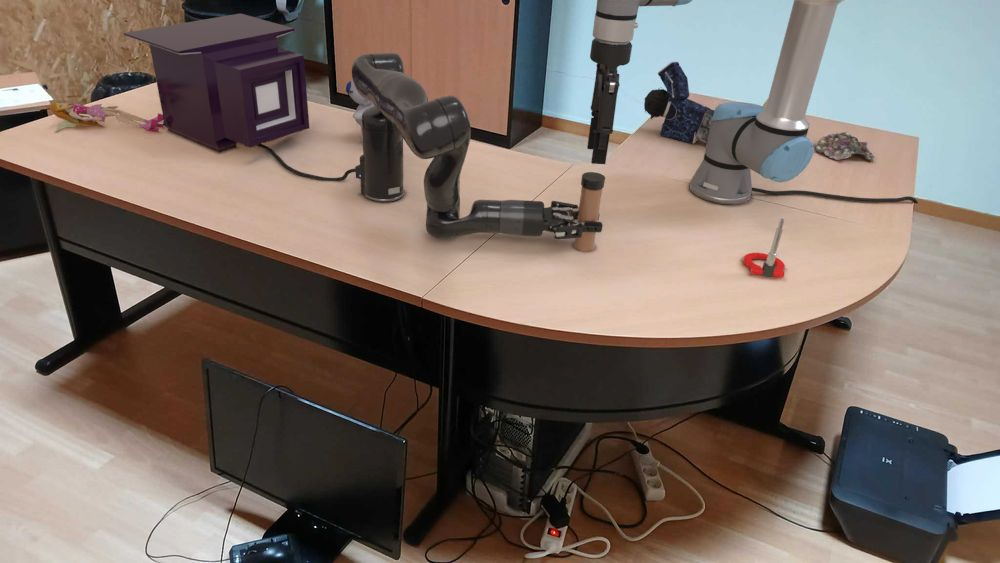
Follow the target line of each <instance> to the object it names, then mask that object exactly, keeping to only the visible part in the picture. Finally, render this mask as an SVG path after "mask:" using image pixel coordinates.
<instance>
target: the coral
mask: <svg viewBox="0 0 1000 563" xmlns="http://www.w3.org/2000/svg"><path fill="white" fill-rule="evenodd" d="M815 150H816V151H817V152H818V153H824V155H825V156H827V157H828V158H830V159H832V160H835V161H839V160H840V161H841V160H844V159H848V158H851V157H852V155H853V154H854V155H857V154H859V155H860V156H861V158H863V159H865V160H866V161H871V162H874V160H875V159H874V158H875V155H874V154H873V153H872V152H871V151H870V149H869V147H868V142H867V141H859V139H858V137H855V136H853V135H852V134H851V133H849V132H848V131H846V132H844V131H843V132H836V133H830V134H827V135H826V136H822V137H820V138H819V140H818V141H817V142H816V144H815ZM873 157H874V158H873Z"/></svg>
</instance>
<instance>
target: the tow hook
mask: <svg viewBox="0 0 1000 563" xmlns="http://www.w3.org/2000/svg"><path fill="white" fill-rule="evenodd" d="M784 223H785V219H784V218H780V219H779V222H778V226H777V228H776V229H775V232H774V236H773V240H772V243H771V247H770V250H769V251H768V253H763V252H750V253H747V254H745V255H744V256H743V259H742V260H743V263H744V266H746V267H748V268H749V269H750V274H751V275H752V274H753V275H759V276H762V277H763V276H764V277H770V278H771V277H774V278H782V279H783V278H784V277H785V271H784V270H785V267H786V264H785V263H784V262H783V261H782V260H781V259H780V258H778V257H777V255H778V254H777V251H778V248H779V244H780V240H781V238H782V234H783V231H784V229H783V227H784ZM756 259H760V260H765V262H763V264H762V266H761V265H759V264H757V263H755V262H753V260H756Z"/></svg>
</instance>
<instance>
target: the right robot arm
mask: <svg viewBox="0 0 1000 563" xmlns="http://www.w3.org/2000/svg"><path fill="white" fill-rule="evenodd" d="M692 1H693V0H596V7H595V8H596V9H595V13H594V21H593V26H592V28H593V29H592V37H593V39H591V45H590V54H589V58H590V60H591V61H592V62H593V63H595V64H596V71H595V78H594V86H593V92H592V97H591V98H592V99H591V105H590V111H591V113H590V115H591V117H590V125H589V130H588V131H589V132H588V137H587V138H588V139H587V148H586V149H587V150H592V152H591V153H592V155H591V160H590V161H591V162H590V163H591V164H593V165H606V162H607V156H608V149H609V142H610V136H611V135H612V134H613V132H614V121H615V115H616V114H615V113H616V109H617V108H616V106H617V101H618V100H617V99H618V92H619V88H620V85H621V84H620V73H618V68H619V67H620V66H621V67H622V66H626V65H628V64H629V63H630V61H631V56H632V49H633V44H632V42H631V41H633V40H634V35H635V29H638V28H639V23H638V22H636V21H637V17H638V13H639V7H668V6H671V7H677V6H682V5H688V4H689V3H691V2H692ZM844 1H845V0H793V3H792V7H791V12H790V15H789V19H788V22H787V25H786V29H785V33H784V37H783V41H782V44H781V49H780V52H779V56H778V61H777V64H776V68H775V71H774V75H773V80H772V83H771V87H770V90H769V94H768V98H767V99H768V101H767V105H766V109H765V108H764V107H762V106H763V105H760V104H757V103H751V102H743V101H742V102H741V101H740V102H739V101H731V102H722V103H720V104H718V105H716V107H715V109H714V115H713V118H712V119H711V125H710V130H709V135H708V140H707V142H706V145H705V150H704V154H703V159H702V161H701V163H700V165H699V166H698V168H697V169H696V171H695V173H694V174H693V176H692V179H691V180H690V184H689V189H690V191H691V193H693V194H694V196H696V197H698V198H700V199H702V200H704V201H707V202H710V203H713V204H717V205H726V206H727V205H729V206H734V205H742V204H745V203H747V202H749V201H750V199H751V197H752V193H753V192H754V193H760V194H765V195H771V196H774V195H775V196H782V195H783V196H785V195H804V196H805V195H806V196H814V197H821V198H827V199H834V200H835V199H836V200H842V201H843V200H844V201H852V202H861V203H862V202H863V203H898V202H904V201H911V202H912V203H913V204H916V205H917V204H919V202H918V200H917V199H916V198H915V197H913V196H902V197H887V198H886V197H885V198H883V197H882V198H881V197H879V198H874V197H872V198H870V197H859V196H858V197H857V196H849V195H839V194H830V193H823V192H818V191H809V190H797V189H793V190H791V189H790V190H768V189H762V188H757V187H753V186H752V174H751V171H753V172H755V173H757V174H758V175H760V176H761V177H762V178H763V179H768V180H770V181H772V182H774V183H787V182H789V181H791V180H794V179H795V178H797V177H798V176H799V175H800V174H801V173H802V172H804V171H805V169H806V168H807V167H808V166H809V164H810V162H811V160H812V158H813V156H814V151H815V146H814V144H813V141H811V139H810V138H809V137H807V135H808V132H809V128H810V122H809V121H808V119H807V118H806V114H807V110H808V107H809V104H810V100H811V97H812V93H813V90H814V87H815V83H816V79H817V78H818V77H817V76H818V73H819V69H820V67H821V63H822V59H823V56H824V53H825V49H826V45H827V42H828V39H829V36H830V32H831V28H832V25H833V21H834V18H835V15H836V12H837V9H838V5H839V4H841V3H842V2H844Z"/></svg>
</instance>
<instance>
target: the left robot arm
mask: <svg viewBox="0 0 1000 563" xmlns="http://www.w3.org/2000/svg"><path fill="white" fill-rule="evenodd" d="M352 79H353V83H354V85H355V88H356V90H357V91H358V93H359V94H360V95H361V96H362V97H363V98H365V99H367V100H369V101H370V102H372V103H373V104H374V105H375V106H373V107H370V108H368V109H366V110H365V111H364V112H363V114H362V138H363V142H362V155H360V156H359V164H357V165H356V166H355V167H354V168H350V169H347V170H346V171H345V172H344V174H342V176H340V177H325V176H319V175H314V174H310V173H305V172H303V171H300V170H297V169H295V168H293V167H291V166H289V164H286V163H285V162H284V160H283V159H282V158H281V157H280V156H279V155H278V154H277V153H276V152H275V151H274V150H273V149H272V148H270V147H269V146H267V145H266V144H264V143H262V144H259V145H256V146H255V147H259V148H262V149H264V150H265V151H268V152H269V153H270V154H271V155H272V156H273V157H274V158H275V159H276V160H277V161H278V162H279V163H280V165H282V167H283V168H285V169H286V170H287V171H290V172H291V173H294V174H296V175H298V176H301V177H304V178H309V179H314V180H319V181H324V182H325V181H326V182H341V181H344V180H345V179H347V177H348V175H351V174H353V173H355V179H358V180H359V181H360V195H362V196H364V197H365V198H367V199H368V200H371V201H373V202H379V203H389V202H394V201H399V200H400V199H402V198H403V197H404V195H405V190H404V142H405V143H406V145H407V147H408V148H409V149H410V151H411V152H412V153H413V155H414V156H416V157H417V158H419V159H421V160H430V159H431V162H430V163H429V164H428V166H427V168H426V170H425V173H424V177H423V189H424V191H423V192H424V199H425V201H426V212H425V213H426V214H425V231H426V232H427V234H428V235H429V236H431V237H432V238H434V239H437V240H451V239H454V238H455V239H456V238H459V237H464V236H470V235H475V234H482V233H483V234H501V235H506V236H520V237H521V236H522V237H541V236H543V233H544V232H549V233H553V234H554V240H555V241H557V240H569V239H570V240H571V239H575V238H580V237H581V236H582V234H583V233H584V232H596V233H600V234H601V233H602V231H603V227H604V226H603V223H602V221H600V213H599V217H598V222H594V221H585V222H584V221H580V220H577V219H578V211H579V205H578V204H574V203H569V202H563V201H557V200H552V201H551V202H550V206H547V207H545V204H544V202H543V201H542V200H523V199H502V200H499V199H476V200H474V201H473V203H472V205H471V208H470V212H469V214H468V215H466V216H464V217H463V216H462V217H460V215H461V193H460V192H461V184H460V181H461V173H462V170H463V166H464V163H465V160H466V157H467V153H468V149H469V146H470V142H471V137H472V136H471V135H472V129H471V128H472V127H471V122H470V119H469V114H468V112H467V110H466V107H465V106H464V104H463V103H462V101H461V100H460V99H459V98H458V97H457V96H455V95H452V94H451V95H444V96H440V97H437V98H434V99H431V100H428V95H427V92H426V90H425V88H424V87H423V85H421V83H419V81H417V80H416V79H415V78H414V77H413V76H411V75H409V74H407V73H405V66H404V62H403V59H402V57H401V56H400V54H398V53H397V52H377V53H376V52H375V53H374V52H373V53H363V54H360V55H358V56H356V57H355V59H354V61H353V63H352V66H351V80H352Z"/></svg>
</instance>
